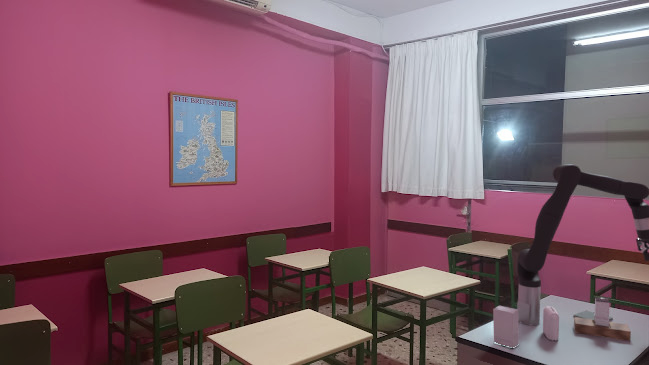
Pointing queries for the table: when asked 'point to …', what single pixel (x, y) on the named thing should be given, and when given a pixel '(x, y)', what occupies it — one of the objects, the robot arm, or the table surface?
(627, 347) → the table surface
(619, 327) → the body
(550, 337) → the photo printer
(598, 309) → the lever cap
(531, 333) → the table surface
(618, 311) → the table surface
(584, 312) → the rubber mat
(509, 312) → the skincare box
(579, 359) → the table surface
